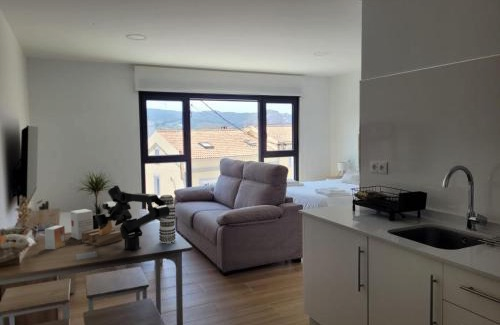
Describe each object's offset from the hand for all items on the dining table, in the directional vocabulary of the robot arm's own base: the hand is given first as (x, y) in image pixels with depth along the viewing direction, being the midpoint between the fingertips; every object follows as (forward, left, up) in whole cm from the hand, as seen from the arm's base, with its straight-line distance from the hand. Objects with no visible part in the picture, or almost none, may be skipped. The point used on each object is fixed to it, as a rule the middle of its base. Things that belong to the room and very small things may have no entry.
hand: (107, 227), depth 199 cm
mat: (-6, +21, -8) cm, 24 cm away
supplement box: (+22, -5, -9) cm, 24 cm away
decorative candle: (-29, -12, -9) cm, 32 cm away
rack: (+5, -1, -8) cm, 10 cm away
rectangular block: (+2, -1, -7) cm, 8 cm away
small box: (+20, +15, -9) cm, 27 cm away
